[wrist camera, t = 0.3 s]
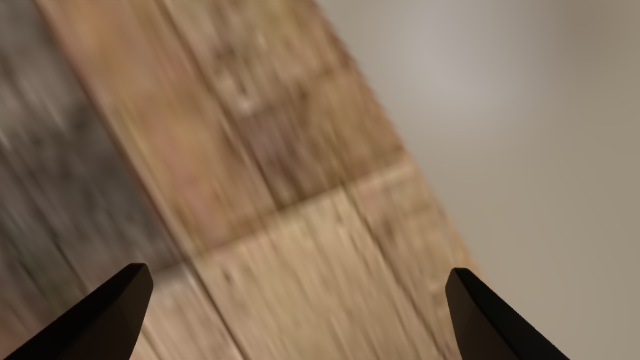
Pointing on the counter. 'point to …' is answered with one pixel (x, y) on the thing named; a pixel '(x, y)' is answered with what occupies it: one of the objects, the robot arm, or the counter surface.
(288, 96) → the counter surface
